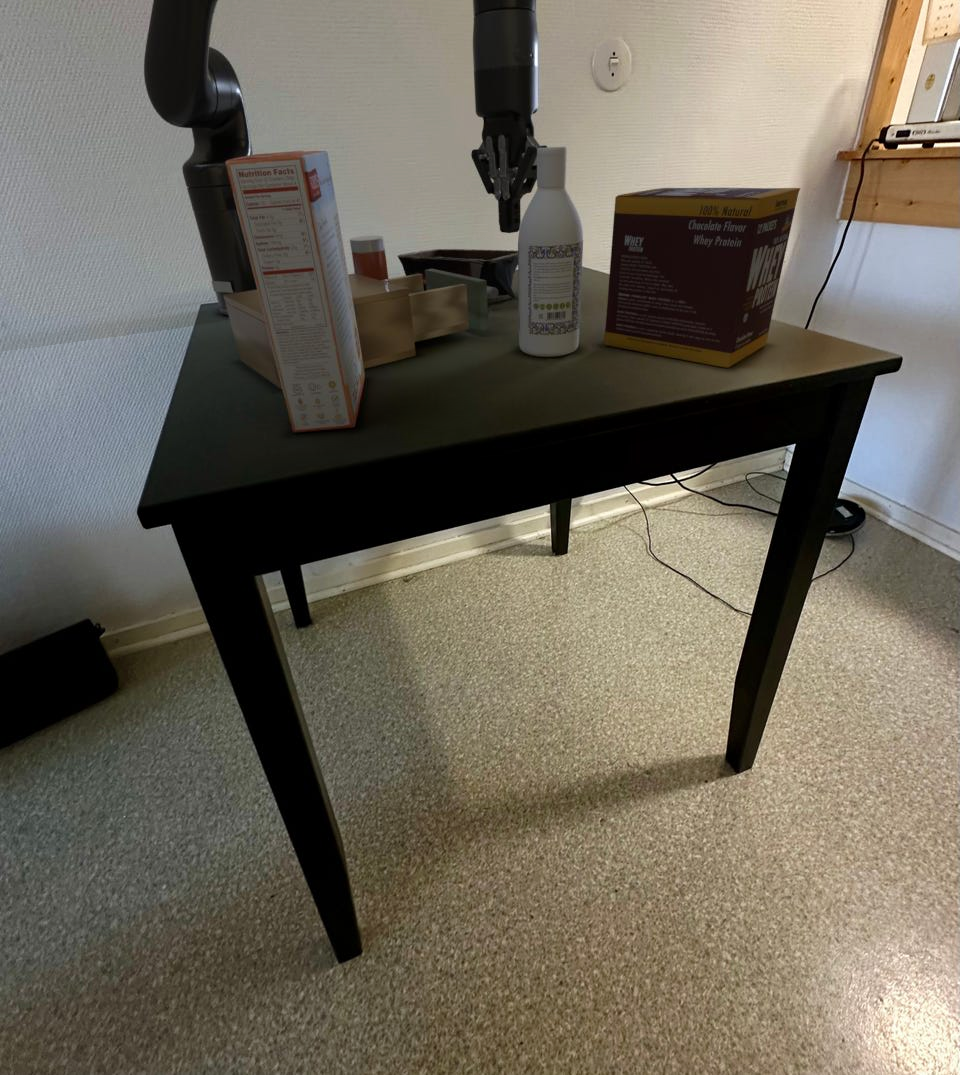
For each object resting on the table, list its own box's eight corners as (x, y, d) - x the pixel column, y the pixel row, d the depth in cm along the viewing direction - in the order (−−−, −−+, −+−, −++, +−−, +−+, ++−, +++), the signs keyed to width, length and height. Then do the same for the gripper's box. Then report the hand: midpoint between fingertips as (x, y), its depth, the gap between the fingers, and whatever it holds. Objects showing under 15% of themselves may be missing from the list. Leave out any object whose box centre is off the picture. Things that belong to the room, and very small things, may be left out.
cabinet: (363, 334, 81) (354, 273, 76) (416, 355, 71) (409, 287, 67) (240, 361, 73) (223, 294, 69) (281, 389, 63) (263, 314, 59)
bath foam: (590, 351, 69) (601, 144, 58) (538, 362, 67) (539, 148, 56) (558, 338, 75) (562, 146, 64) (508, 347, 72) (504, 149, 61)
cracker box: (311, 382, 65) (263, 152, 53) (367, 378, 65) (331, 148, 53) (287, 435, 53) (219, 155, 42) (356, 430, 53) (307, 150, 42)
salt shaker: (357, 324, 85) (343, 238, 79) (384, 319, 87) (373, 234, 81) (371, 330, 82) (358, 241, 76) (399, 324, 84) (389, 237, 78)
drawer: (460, 307, 87) (457, 264, 84) (514, 322, 78) (513, 274, 75) (335, 334, 78) (326, 286, 74) (380, 355, 69) (373, 302, 66)
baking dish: (454, 301, 103) (439, 238, 98) (543, 293, 93) (531, 222, 88) (399, 328, 94) (380, 260, 89) (490, 322, 84) (475, 245, 79)
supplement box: (730, 369, 62) (762, 196, 53) (602, 345, 71) (612, 194, 62) (769, 345, 68) (803, 186, 60) (647, 326, 77) (662, 186, 69)
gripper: (569, 58, 67) (565, 232, 76) (496, 72, 76) (501, 225, 86) (516, 57, 63) (519, 239, 73) (447, 72, 73) (458, 232, 82)
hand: (509, 231), depth 79 cm, fingers closed
